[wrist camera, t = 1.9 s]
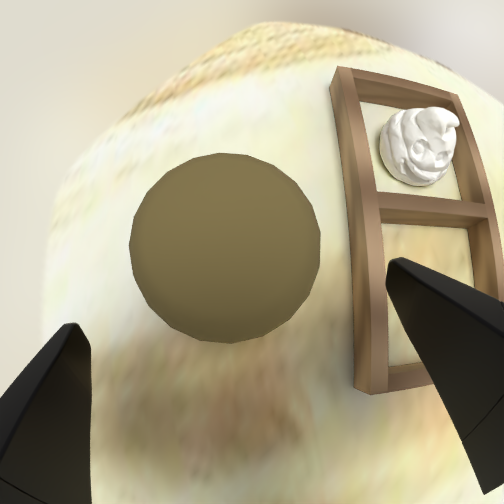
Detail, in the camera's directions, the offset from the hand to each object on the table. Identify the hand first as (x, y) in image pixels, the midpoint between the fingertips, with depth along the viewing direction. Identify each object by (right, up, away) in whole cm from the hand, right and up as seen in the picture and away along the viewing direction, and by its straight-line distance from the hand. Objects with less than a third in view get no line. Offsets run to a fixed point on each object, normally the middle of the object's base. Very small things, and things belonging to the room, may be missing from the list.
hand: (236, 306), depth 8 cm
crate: (+12, +4, +11) cm, 17 cm away
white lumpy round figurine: (+12, +8, +13) cm, 19 cm away
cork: (-1, -1, +10) cm, 10 cm away
